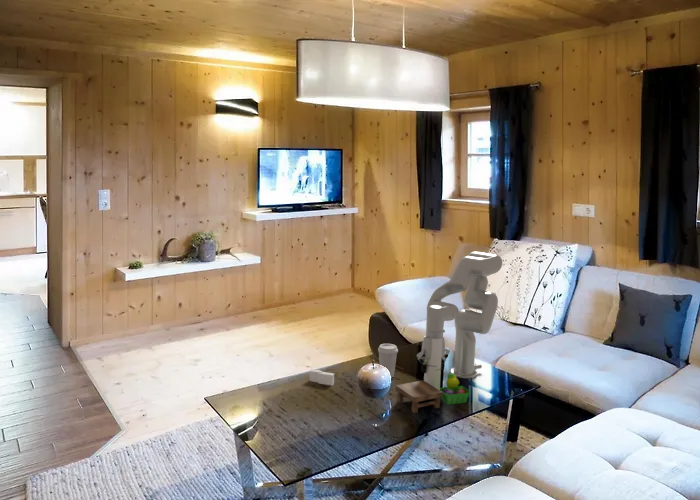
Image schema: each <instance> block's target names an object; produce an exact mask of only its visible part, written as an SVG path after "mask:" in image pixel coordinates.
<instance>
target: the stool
mask: <svg viewBox="0 0 700 500" xmlns="http://www.w3.org/2000/svg"><path fill="white" fill-rule="evenodd" d="M395 391H396V392H397V396H396V397H397V398H396V399H397V403H398V404H400V403H404V398H407V399H408V400H410V401H412V402H411V413H413V414H417V413H418V412H419V408H423V407H428V406H432V405H433V408H435V409H440V408H441V398H442V395H443V392H442V391H440V390H438V389H437V388H435V387H433V386H432V385H430V384H429V383H427V382H425V381H424V379H423V380H418V381H412V382H406V383H401V384H396V385H395ZM429 400H430V401H429Z"/></svg>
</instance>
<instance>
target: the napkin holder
mask: <svg viewBox="0 0 700 500" xmlns="http://www.w3.org/2000/svg"><path fill="white" fill-rule="evenodd" d="M309 381H310V382H314V383H317V384H320V385H321V384H322V385H326V386H334V385H335V373H332V372H327V371H326V372H325V371H323V370H320V369H313V368H312V369H310V371H309Z"/></svg>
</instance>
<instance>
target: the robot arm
mask: <svg viewBox="0 0 700 500" xmlns="http://www.w3.org/2000/svg"><path fill="white" fill-rule="evenodd" d="M502 266H503V259H502V257H501V256H500V255H498V254H493V253H486V252H481V251H472V252H470V253H468V254H467V256H463V257H461V258H460V260H459V262H458V264H457V265H456V268H455V269H454V271H453V274H452V276H451V277H450V279H449V281H446V282H445V283H443V284H442V285H441V286H439V287H438V288H436V289H435V290H434V292H433V293H432V295H431V296H430V298H429V300H428V302H427V305H426V323H425V324H426V325H425V327H426V329H425V335H424V336H423V339H422V343H421V351H420V352H418V353H417V354H416V358H417V360H418V362H419V363H420V372H422V373H426V369H427V365H426V362H427V361H428V360H430V359H431V354H432V339H441V338H442V357H441V370H442V371H444V370H445V366H446V365H445V363H446V361H447V358H448V357H449V355H450V353H451V350H450V349H448V348H446V341H445V340H446V339H445V336H444V333H446V330H445V329H444V326H445V324H444V323H445V322H449V321H450V322H451V321H454V327H455V341H454V342H455V345H454V357H453V358H454V360H453V361H454V362H453V367H452V368H451V369H450V373H449V374H451V373H452V374H454V375H455V376H456V378H459V379H473V378H476V377H477V376H478V372H477V370H480V369H482V367H483V366H482V364H481V363H479V364H476V363H475V359H476V358H475V356H476V344H477V341H476V339H477V338H476V335H475V334H479V335H480V334H481V335H486V334H488V333H489V332H490V330H491V328H492V326H493V322H494V318H495V316H496V313H497V309H498V304H499V299H498V295H497V294H496V293H494V292H492V291H488V290H487V288H488V285H489V281H488V280H489V279H488V277H489V276H492V275H494V274H497V273H498V272H499V271H500V270H501V269H502V268H503V267H502ZM465 291H466V293H465V295H464V299H463V304H464V305H465V306H466V307H467V308H469V309H472V310H469V309H459V307H458V306H457V305H456V304H453V303H449V302H445V301H442V300H443V299H445V298H446V297H448V296H451V295H454V294H458V293H463V292H465ZM475 310H476V311H475ZM477 310H478V311H480V312H477Z"/></svg>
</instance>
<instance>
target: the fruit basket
mask: <svg viewBox="0 0 700 500" xmlns="http://www.w3.org/2000/svg"><path fill="white" fill-rule="evenodd" d="M445 384H446V386H444V387H440V391H442V392H443V395H442V397H441V400H442V401H443V402H444V403H445V404H446V405H456V404H464V403H465V404H466V403H467V401H468V398H469V396H470V394H471V391H470V390H469V389H467V387H465V386H464V385H460V381H459V379H458V377H456V376H455V375H454V374H452V373H449V374H448V375H447V379H446V382H445Z"/></svg>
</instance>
